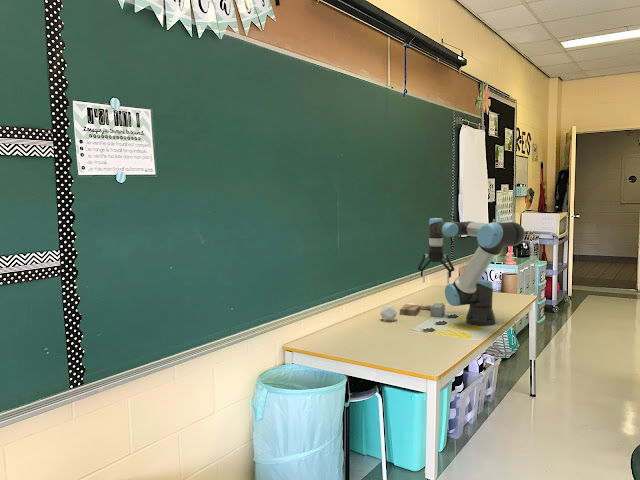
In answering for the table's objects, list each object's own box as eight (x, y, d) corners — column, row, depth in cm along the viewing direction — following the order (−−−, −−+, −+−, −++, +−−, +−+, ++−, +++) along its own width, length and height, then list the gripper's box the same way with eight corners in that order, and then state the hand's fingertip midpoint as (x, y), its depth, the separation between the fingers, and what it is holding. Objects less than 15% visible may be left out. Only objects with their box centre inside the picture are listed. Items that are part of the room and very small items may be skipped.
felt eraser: (441, 310, 298) (441, 306, 298) (439, 312, 295) (439, 308, 294) (421, 308, 304) (421, 304, 304) (419, 310, 300) (419, 306, 300)
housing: (444, 313, 290) (444, 303, 289) (441, 317, 281) (441, 306, 280) (434, 312, 293) (434, 302, 292) (430, 316, 283) (430, 305, 283)
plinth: (419, 310, 297) (419, 305, 297) (415, 315, 285) (415, 310, 285) (404, 309, 300) (404, 304, 300) (399, 314, 288) (399, 309, 288)
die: (392, 324, 270) (401, 308, 272) (377, 315, 271) (386, 300, 273) (390, 326, 278) (398, 310, 280) (376, 317, 279) (384, 302, 282)
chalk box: (419, 309, 302) (419, 303, 302) (417, 310, 299) (417, 305, 299) (406, 308, 306) (406, 302, 305) (404, 309, 303) (404, 303, 302)
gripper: (459, 245, 282) (459, 282, 284) (414, 244, 290) (414, 281, 292) (458, 246, 275) (458, 284, 277) (412, 245, 283) (412, 283, 284)
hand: (435, 282), depth 284 cm, fingers open, 13 cm apart
